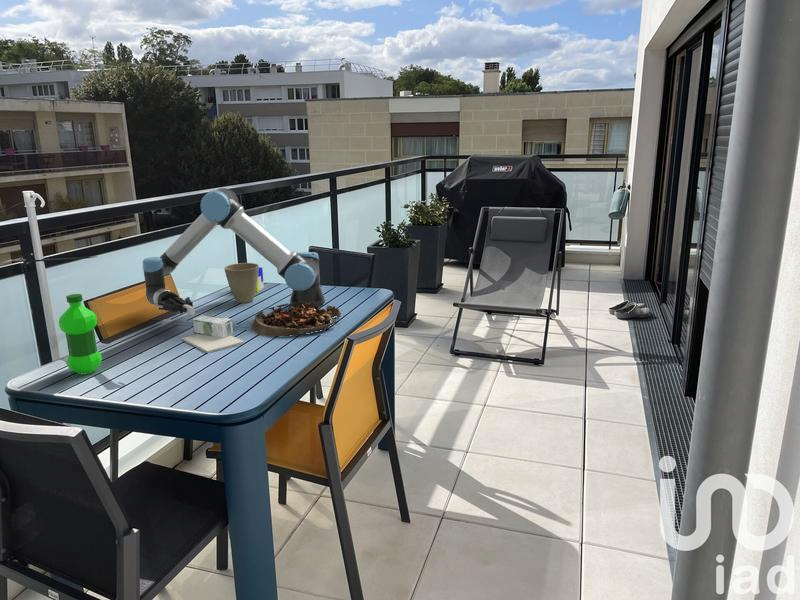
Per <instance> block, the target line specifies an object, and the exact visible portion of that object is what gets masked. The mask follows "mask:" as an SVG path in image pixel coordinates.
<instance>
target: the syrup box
mask: <svg viewBox="0 0 800 600" xmlns="http://www.w3.org/2000/svg"><path fill="white" fill-rule="evenodd" d="M191 321H192V329H193V334H194V335H196V334H201V335H207V336H213V337H219V338H224V337H226V336H228V335H232V334H233V333H234V329H233V322H232V321H233V320H232V318H227V317H221V316H213V315H207V314H206V315H205V314H200V315H199V316H196V317H194V318H193V319H191Z"/></svg>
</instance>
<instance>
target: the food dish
mask: <svg viewBox="0 0 800 600" xmlns="http://www.w3.org/2000/svg"><path fill="white" fill-rule="evenodd" d="M288 305H289V303H283V304H280V305H276V306H275V307H274V306H272V307H267V308H266V309H264V310H260V311H259V312H257V314H255V316H254V319H253V322H252V324H251V327H252V329H251V330H252V331H253V332H254V333H255V334H257V335H259V336H265V337H266V336H267V337H268V336H269V337H276V336H290V335H299V336H301V335H300V334H305V335H307V334H306V333H311V332H315V331H320V330H323V331H325V330H326V329H325V328H328V329H329V328H330V327H331V326H330V325H332V324H333V325H334V324H337V321H338V320H339V319H340V318H341V313H342V312H341V311H340V309H339V308H336V307H335V306H332V305H327V306H326V308H325V309H324V308H322V309H320V307H321V306H320V305H322V303H318V304H316V305H314V306H315V307H314V308H312V306H311V305H310V302H301V303H299V305H297V306H296V307H291V306H290V308H289V309H288V310H286V309H285V310H284V308H283V307H285V306H288ZM304 305H305V307H304ZM301 306H302V307H301ZM319 306H320V307H319ZM322 306H323V305H322ZM267 310H272V312H268V313H267V315H265V314H264V311H267ZM334 316H337V319H336V320H331V318H332V317H334ZM330 320H331V321H332V323H330ZM329 326H330V327H329ZM324 329H325V330H324ZM290 337H291V336H290Z"/></svg>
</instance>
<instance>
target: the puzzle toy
mask: <svg viewBox="0 0 800 600" xmlns="http://www.w3.org/2000/svg"><path fill="white" fill-rule="evenodd" d="M263 288H265V285H264V272H263V267H260V266H259V270H258V281H257V287H256V292H255V293H259V292H260V291H261V290H262V289H263Z"/></svg>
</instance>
